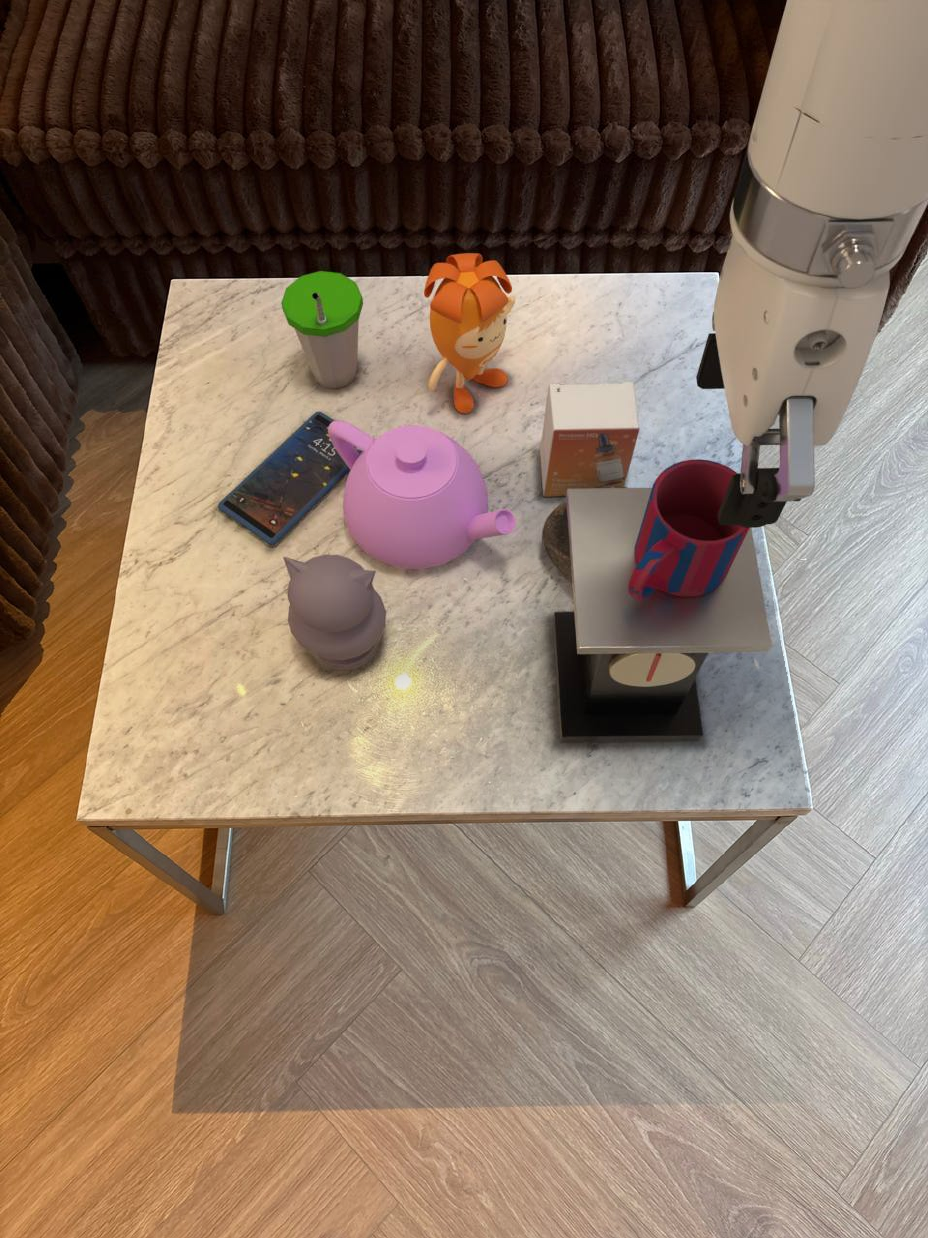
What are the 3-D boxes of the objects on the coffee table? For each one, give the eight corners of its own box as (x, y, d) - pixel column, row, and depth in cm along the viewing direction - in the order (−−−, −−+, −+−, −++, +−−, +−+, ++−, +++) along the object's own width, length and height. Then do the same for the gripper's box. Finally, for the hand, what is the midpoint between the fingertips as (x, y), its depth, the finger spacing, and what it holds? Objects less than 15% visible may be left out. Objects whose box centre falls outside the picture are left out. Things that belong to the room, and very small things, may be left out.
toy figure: (453, 436, 97) (450, 328, 83) (401, 393, 99) (390, 282, 86) (534, 374, 100) (543, 261, 87) (481, 334, 103) (483, 219, 90)
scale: (688, 613, 87) (744, 486, 69) (706, 747, 81) (772, 646, 63) (547, 614, 87) (567, 488, 69) (554, 748, 81) (578, 648, 63)
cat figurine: (287, 671, 85) (260, 609, 74) (308, 595, 88) (286, 525, 77) (380, 686, 84) (367, 625, 73) (398, 609, 87) (388, 540, 77)
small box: (542, 498, 93) (550, 430, 84) (539, 452, 96) (546, 381, 86) (623, 496, 93) (641, 428, 84) (618, 451, 96) (634, 379, 86)
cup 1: (322, 336, 103) (300, 221, 90) (385, 360, 101) (372, 247, 88) (284, 385, 100) (255, 274, 86) (348, 411, 98) (329, 302, 85)
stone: (685, 572, 89) (696, 544, 85) (595, 630, 86) (602, 604, 82) (610, 491, 93) (617, 460, 89) (522, 543, 91) (525, 514, 86)
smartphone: (214, 504, 92) (317, 408, 97) (216, 509, 92) (318, 413, 98) (272, 545, 90) (374, 444, 95) (273, 549, 90) (374, 449, 96)
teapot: (472, 622, 87) (472, 563, 77) (299, 523, 92) (279, 456, 82) (548, 516, 92) (557, 448, 83) (380, 428, 97) (371, 355, 88)
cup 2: (749, 559, 66) (777, 504, 60) (651, 644, 63) (670, 595, 57) (679, 500, 69) (699, 441, 63) (581, 579, 66) (592, 526, 60)
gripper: (972, 351, 35) (826, 578, 51) (875, 65, 43) (774, 336, 58) (770, 355, 35) (685, 581, 51) (711, 69, 43) (653, 338, 59)
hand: (733, 449), depth 55 cm, fingers open, 9 cm apart
